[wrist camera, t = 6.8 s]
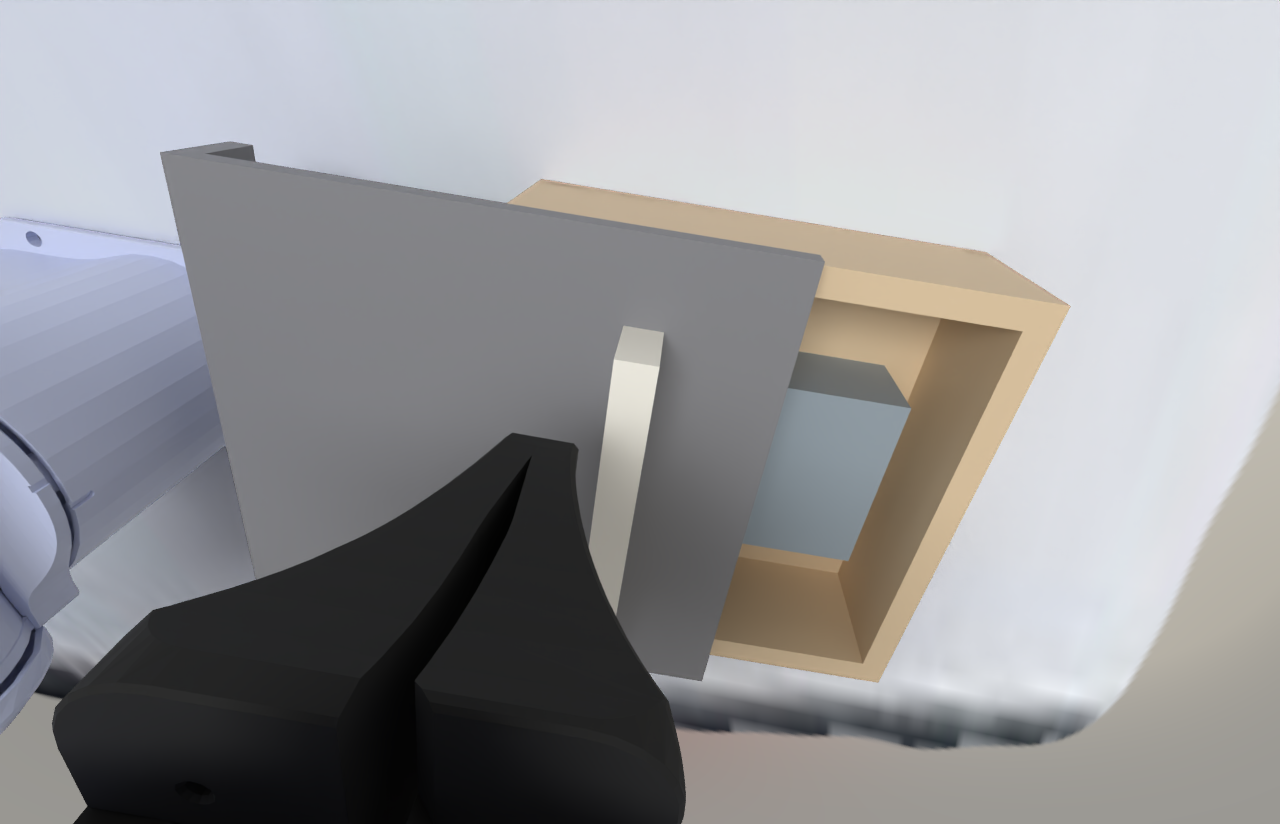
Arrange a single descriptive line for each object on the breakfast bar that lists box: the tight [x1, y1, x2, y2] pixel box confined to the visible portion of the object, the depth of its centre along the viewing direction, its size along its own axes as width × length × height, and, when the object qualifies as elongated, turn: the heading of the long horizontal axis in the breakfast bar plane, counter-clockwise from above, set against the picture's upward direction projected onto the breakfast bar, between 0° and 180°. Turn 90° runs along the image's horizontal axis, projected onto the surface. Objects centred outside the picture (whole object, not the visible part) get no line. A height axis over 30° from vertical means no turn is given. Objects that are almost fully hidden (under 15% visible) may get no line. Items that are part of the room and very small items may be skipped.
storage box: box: [508, 179, 1070, 682], centre depth 20 cm, size 14×14×5 cm
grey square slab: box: [160, 142, 825, 681], centre depth 18 cm, size 15×15×4 cm
